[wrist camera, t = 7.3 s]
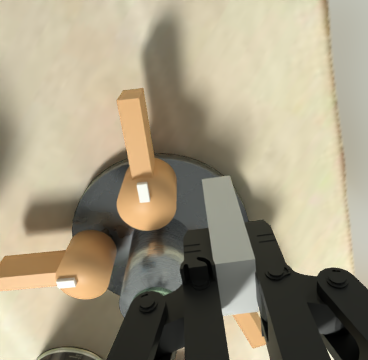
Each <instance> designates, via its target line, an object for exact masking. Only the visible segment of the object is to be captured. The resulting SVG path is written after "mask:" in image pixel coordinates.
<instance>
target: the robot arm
mask: <svg viewBox="0 0 368 360" xmlns="http://www.w3.org/2000/svg"><path fill="white" fill-rule="evenodd" d="M202 185H203V192H204V199H205V206H206V214H207V221H208V228H202V229H195V230H187V232H186V234H185V236H184V237H183V246H184V261H183V262H182V263H181V265H180V274H181V279H182V284H181V286H180V287H179V288H178V289H176V290H175V291H173V292H171V293H169V294H166V295H164V296H163V295H162V294H160V293H159V292H155V291H146V292H144V293H141V294H139V295H138V296H137V297H135V298H134V299H133V301H132V302H131V304H130V306H129V309H128V311H127V313H126V316H125V318H124V320H123V323H122V325H121V327H120V330H119V332H118V334H117V337H116V339H115V341H114V343H113V346H112V348H111V350H110V353H109V355H108V357H107V360H175V357H176V350H178V349H180V348H183V347H185V360H229V354H228V348H227V341H226V334H225V328H224V321H223V316H226V315H234V314H243V313H251V312H259V311H258V307H259V310H260V315H261V332H262V337H263V336H264V337H265V341H266V345H267V349H268V353H269V356H270V360H331V359H330V356H329V354H328V351H329V353H330V354H331V355H332V357H333V358H334V360H368V289H367V288H366V287H365V286H364V285H363V284H362V283H361V282H359V280H358V279H357V278H356V277H355V276H354V275H352V274H351V273H349V272H348V271H346V270H343V269H340V268H326V269H324V270H322V271H320V273H319V274H318V276H308V275H303V274H299V273H297V272H295V271H293V270H292V269H291V267H290V266H288V265H287V264H286V262H285V260H284V258H283V255H282V253H281V250H280V248H279V245H278V243H277V241H276V238H275V236H274V234H273V231H272V229H271V226H270V225H269V224H268V223H266V222H265V221H264V220H258V221H250V222H244V220H243V217H242V214H241V210H240V207H239V204H238V201H237V197H236V194H235V191H234V187H233V184H232V181H231V177H230V175H229V176H222V177H214V178H207V179H202ZM327 350H328V351H327Z"/></svg>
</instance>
